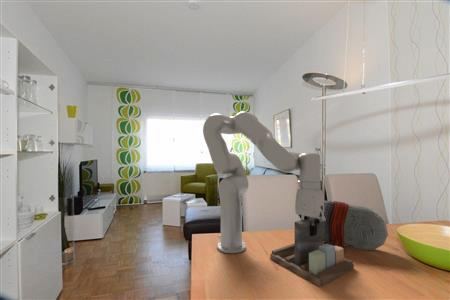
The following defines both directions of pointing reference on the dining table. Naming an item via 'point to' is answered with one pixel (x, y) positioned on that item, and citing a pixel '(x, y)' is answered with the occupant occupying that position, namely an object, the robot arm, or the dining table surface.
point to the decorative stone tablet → (353, 226)
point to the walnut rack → (304, 269)
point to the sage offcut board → (317, 262)
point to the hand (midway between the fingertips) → (309, 233)
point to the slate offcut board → (328, 254)
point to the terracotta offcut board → (339, 255)
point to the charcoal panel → (306, 240)
